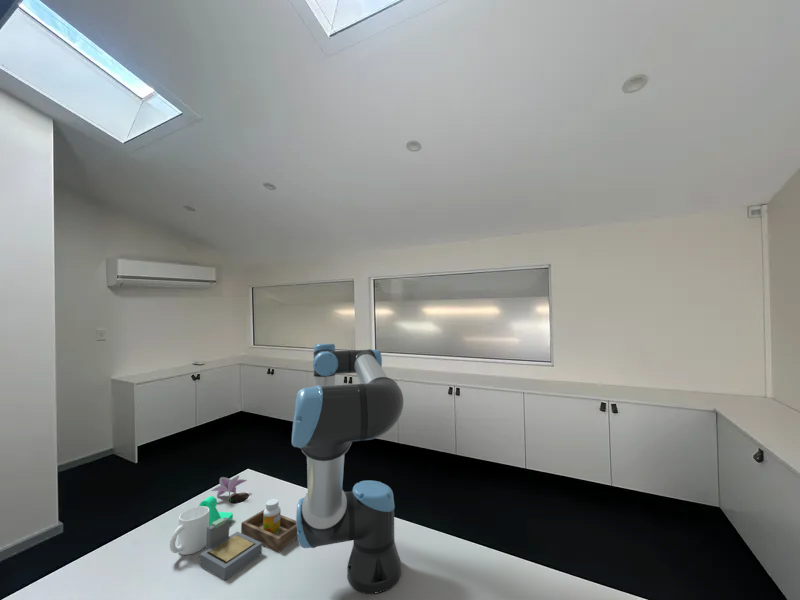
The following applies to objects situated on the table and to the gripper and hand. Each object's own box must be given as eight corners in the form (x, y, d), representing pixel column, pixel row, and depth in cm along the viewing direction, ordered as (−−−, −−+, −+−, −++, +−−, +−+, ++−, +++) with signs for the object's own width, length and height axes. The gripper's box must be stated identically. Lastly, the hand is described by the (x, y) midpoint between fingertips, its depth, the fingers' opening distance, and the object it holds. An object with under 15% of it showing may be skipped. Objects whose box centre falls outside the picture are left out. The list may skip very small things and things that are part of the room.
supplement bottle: (259, 533, 109) (260, 503, 110) (273, 525, 113) (273, 496, 114) (269, 539, 106) (270, 507, 107) (283, 530, 111) (284, 500, 111)
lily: (251, 494, 139) (246, 471, 143) (240, 496, 128) (236, 471, 132) (221, 507, 136) (218, 483, 140) (208, 510, 126) (205, 483, 130)
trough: (301, 535, 109) (301, 522, 110) (277, 552, 101) (278, 538, 101) (265, 520, 118) (265, 508, 118) (241, 535, 110) (241, 522, 110)
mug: (179, 566, 96) (181, 529, 97) (159, 561, 98) (160, 525, 99) (214, 541, 107) (215, 508, 108) (195, 536, 110) (196, 504, 110)
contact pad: (253, 548, 100) (254, 543, 100) (226, 567, 93) (226, 561, 93) (235, 539, 104) (236, 534, 105) (208, 556, 97) (208, 551, 97)
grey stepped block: (261, 553, 101) (262, 522, 101) (224, 580, 90) (225, 545, 91) (233, 539, 108) (234, 510, 108) (195, 563, 97) (196, 530, 98)
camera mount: (234, 520, 119) (234, 490, 120) (220, 533, 112) (221, 501, 112) (203, 518, 120) (204, 489, 121) (187, 531, 113) (189, 500, 114)
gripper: (359, 388, 113) (359, 451, 111) (306, 383, 125) (306, 440, 123) (345, 392, 106) (345, 459, 105) (291, 386, 119) (290, 447, 117)
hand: (324, 449), depth 114 cm, fingers open, 13 cm apart
